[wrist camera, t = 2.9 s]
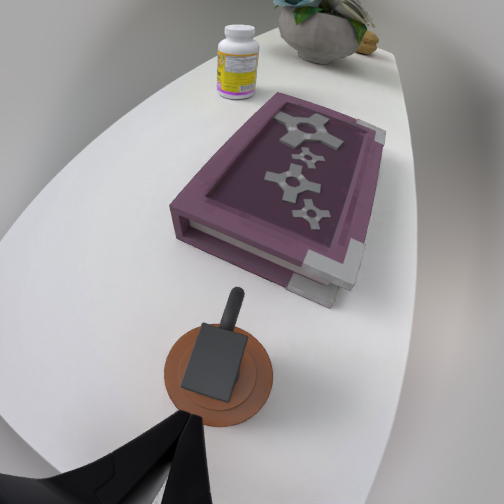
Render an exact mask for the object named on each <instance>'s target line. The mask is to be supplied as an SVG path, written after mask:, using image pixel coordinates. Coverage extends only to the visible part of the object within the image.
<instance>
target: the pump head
mask: <svg viewBox="0 0 504 504" xmlns="http://www.w3.org/2000/svg"><path fill="white" fill-rule="evenodd" d="M244 295H245V293H244V290H243V289H242V288H240V287H235V288H233V289H232V290H231V292H230V295H229V298H228V301H227V304H226V307H225V310H224V313H223V316H222V319H221V322H220V325H219V327H216V326H213V325H210V324H207V323H202V325H201V328H200V330H199V333H198V336H197V339H196V342H195V344H194V347H193V350H192V353H191V356H190V359H189V362H188V365H187V367H186V370H185V373H184V376H183V379H182V382H181V385H180V387H181V388H183V389H185V390H188V391H191V392H194V393H197V394H200V395H203V396H206V397H209V398H213V399H216V400H219V401H223V402H226V403H229V401H230V398H231V394H232V391H233V388H234V385H235V381H236V378H237V375H238V371H239V368H240V365H241V361H242V358H243V354H244V351H245V348H246V344H247V341H248V336H247V335H243V334H240V333H236V332H233V331H234V327H235V324H236V321H237V318H238V315H239V311H240V308H241V305H242V302H243V299H244Z"/></svg>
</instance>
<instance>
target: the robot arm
mask: <svg viewBox="0 0 504 504" xmlns="http://www.w3.org/2000/svg"><path fill="white" fill-rule="evenodd" d="M167 477H168V479H167ZM166 479H167V483H166V486H165V490H164V494H163V498H162V502H161V504H213V503H212V497H211V492H210V483H209V475H208V467H207V458H206V448H205V438H204V427H203V418H202V417H201V416H198V415H195V414H190V413H189V412H186V411H184V410H178V411H177V412H175V413H174V414H172V415H171V416H169V417H168V418H166V419H165V420H163V421H162V422H160V423H159V424H157V425H155V426H154V427H152V428H151V429H149V430H148V431H146V432H144V433H143V434H141V435H140V436H138V437H136V438H135V439H133V440H132V441H130V442H128V443H127V444H125V445H123V446H122V447H120V448H118V449H116V450H115V451H113V452H112V453H109V454H108V455H106V456H104V457H102V458H100V459H98V460H96V461H94V462H92V463H90V464H88V465H85V466H83V467H80V468H77V469H74V470H71V471H68V472H65V473H62V474H59V475H56V476H53V477H49V478H42V479H34V478H26V477H18V476H12V475H7V474H1V473H0V504H152V502H153V501H154V499H155V497H156V496H157V494H158V492H159V491H160V489H161V487H162V485H163V484H164V482H165V480H166Z"/></svg>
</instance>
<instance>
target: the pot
mask: <svg viewBox="0 0 504 504" xmlns="http://www.w3.org/2000/svg"><path fill="white" fill-rule="evenodd" d="M378 41H379V39H378V37H377V36H376V35H375V34H374V33H372V32H370V31H368V30H366V32H365V34H364V37H363V40H362V43H361V45H360V46H359V48H358V49H357V50H356V52H359V53H363V54H371V53H373V52H374V51H375V50H376V49H377V47H376V43H378Z"/></svg>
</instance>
